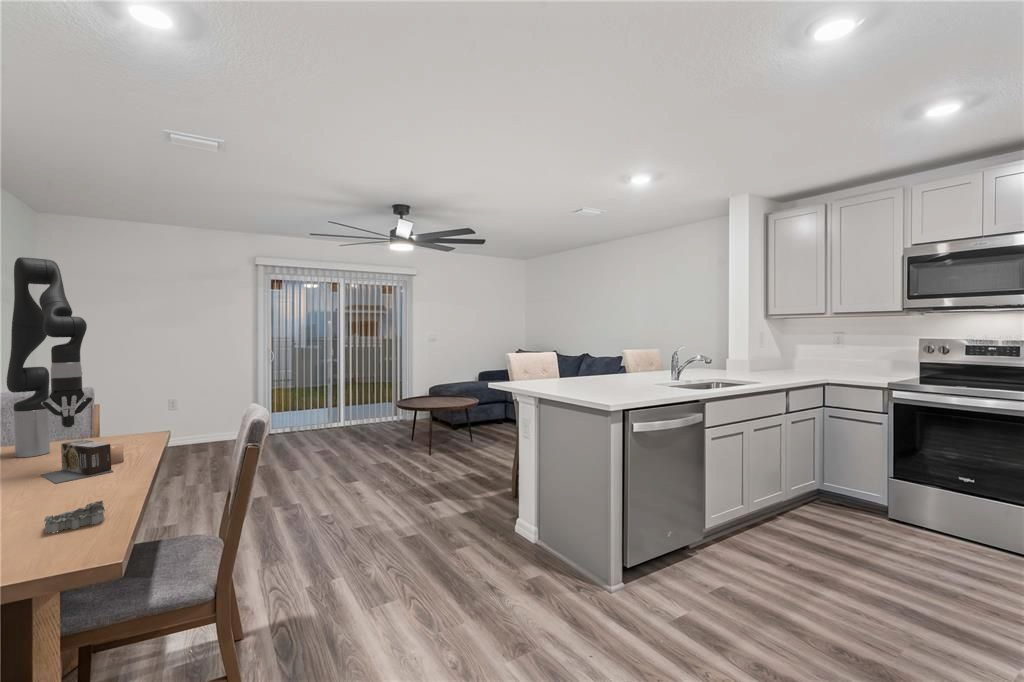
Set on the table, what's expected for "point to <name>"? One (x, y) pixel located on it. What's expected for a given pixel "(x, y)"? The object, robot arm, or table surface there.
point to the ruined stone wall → (76, 518)
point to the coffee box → (86, 457)
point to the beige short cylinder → (117, 453)
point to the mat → (67, 476)
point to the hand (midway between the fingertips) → (68, 427)
